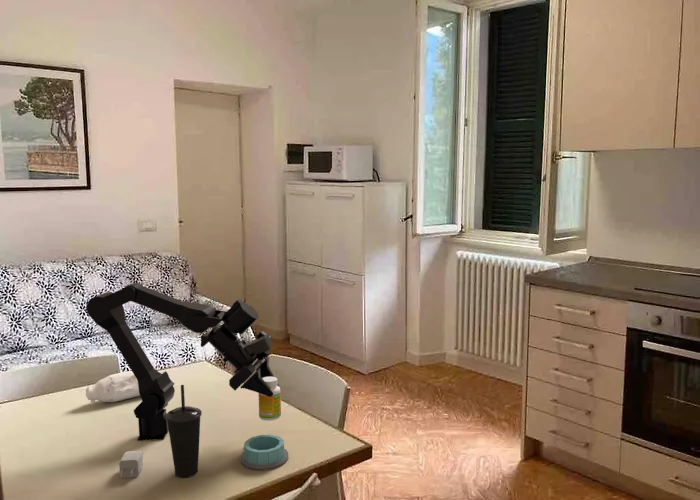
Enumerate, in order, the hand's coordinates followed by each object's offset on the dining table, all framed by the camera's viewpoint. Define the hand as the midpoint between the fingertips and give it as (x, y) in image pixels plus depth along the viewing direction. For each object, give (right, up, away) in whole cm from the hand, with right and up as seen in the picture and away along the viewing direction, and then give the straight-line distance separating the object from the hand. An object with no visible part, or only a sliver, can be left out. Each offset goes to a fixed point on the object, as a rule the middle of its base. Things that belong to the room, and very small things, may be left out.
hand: (275, 391), depth 149 cm
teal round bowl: (-1, -13, -9) cm, 16 cm away
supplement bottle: (-1, -7, +1) cm, 7 cm away
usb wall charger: (-30, -15, -16) cm, 37 cm away
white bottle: (-48, -10, +30) cm, 58 cm away
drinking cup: (-18, -15, -15) cm, 28 cm away
